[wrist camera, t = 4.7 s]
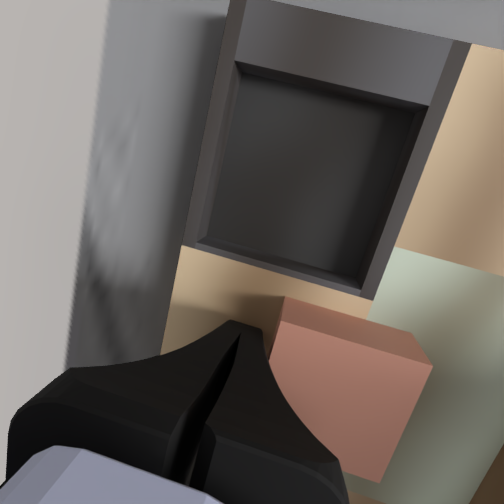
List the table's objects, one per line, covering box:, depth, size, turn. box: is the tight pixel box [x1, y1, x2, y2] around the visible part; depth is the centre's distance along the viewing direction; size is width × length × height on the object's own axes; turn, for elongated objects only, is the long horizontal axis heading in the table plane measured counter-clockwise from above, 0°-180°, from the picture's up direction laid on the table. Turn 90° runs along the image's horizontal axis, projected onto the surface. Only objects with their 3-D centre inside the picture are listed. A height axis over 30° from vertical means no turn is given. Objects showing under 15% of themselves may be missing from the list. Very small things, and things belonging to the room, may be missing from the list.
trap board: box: [160, 0, 504, 504], centre depth 12 cm, size 14×22×3 cm, turn 166°
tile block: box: [267, 296, 433, 483], centre depth 11 cm, size 4×4×2 cm
